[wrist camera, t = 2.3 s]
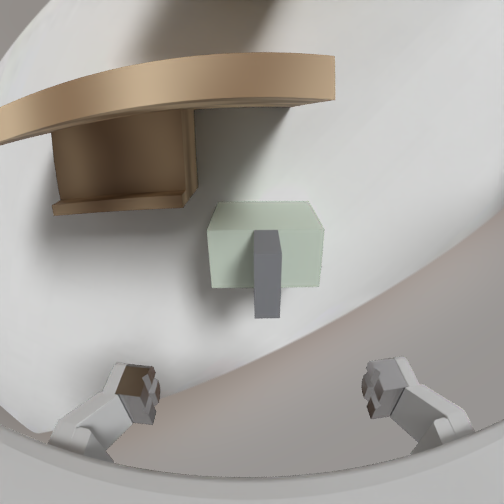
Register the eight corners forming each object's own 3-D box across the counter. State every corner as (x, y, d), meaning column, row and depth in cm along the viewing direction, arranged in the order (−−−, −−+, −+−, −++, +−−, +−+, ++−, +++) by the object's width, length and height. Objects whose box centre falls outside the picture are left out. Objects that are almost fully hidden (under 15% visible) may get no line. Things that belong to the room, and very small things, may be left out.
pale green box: (308, 201, 23) (336, 253, 15) (306, 248, 25) (328, 317, 17) (218, 201, 24) (197, 254, 15) (221, 249, 25) (205, 318, 17)
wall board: (290, 87, 20) (334, 55, 8) (289, 185, 23) (325, 269, 11) (68, 112, 20) (-53, 134, 8) (77, 196, 23) (-25, 266, 11)
